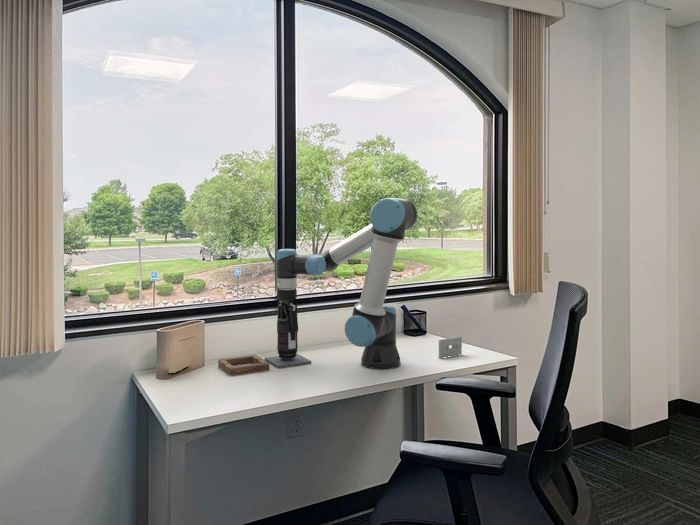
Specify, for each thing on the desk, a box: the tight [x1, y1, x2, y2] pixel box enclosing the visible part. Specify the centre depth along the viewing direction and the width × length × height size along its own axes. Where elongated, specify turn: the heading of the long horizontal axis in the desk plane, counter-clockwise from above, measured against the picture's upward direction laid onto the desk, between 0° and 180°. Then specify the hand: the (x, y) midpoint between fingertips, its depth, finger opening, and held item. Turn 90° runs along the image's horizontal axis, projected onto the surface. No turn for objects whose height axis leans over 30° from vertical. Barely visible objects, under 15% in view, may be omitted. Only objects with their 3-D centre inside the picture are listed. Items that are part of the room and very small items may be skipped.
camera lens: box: [276, 318, 299, 359], centre depth 219 cm, size 8×8×15 cm
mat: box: [264, 352, 312, 369], centre depth 220 cm, size 14×14×1 cm
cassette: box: [438, 336, 463, 359], centre depth 228 cm, size 12×2×8 cm, turn 123°
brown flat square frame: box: [217, 354, 270, 376], centre depth 211 cm, size 15×15×2 cm
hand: (287, 346), depth 219 cm, fingers closed on camera lens, 8 cm apart
